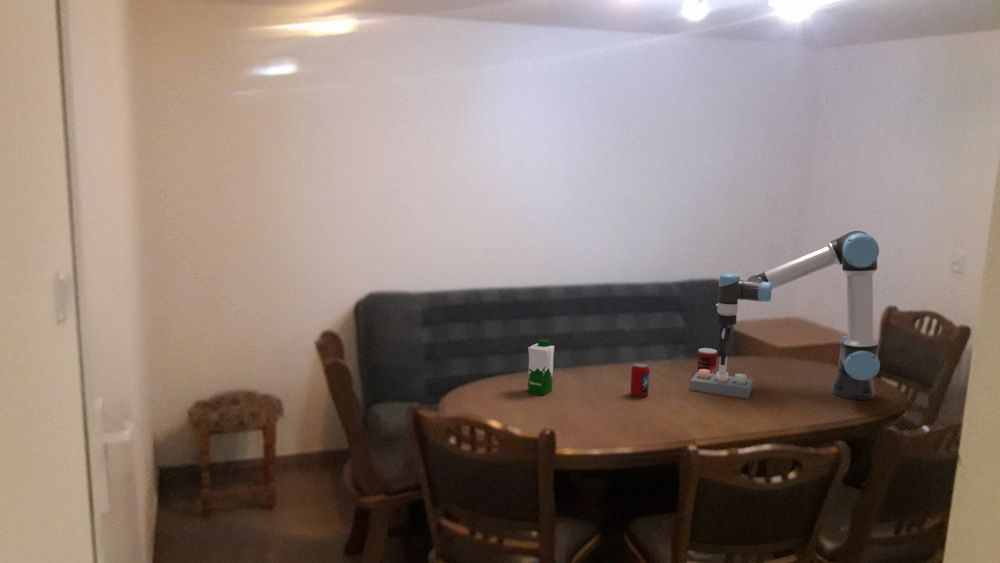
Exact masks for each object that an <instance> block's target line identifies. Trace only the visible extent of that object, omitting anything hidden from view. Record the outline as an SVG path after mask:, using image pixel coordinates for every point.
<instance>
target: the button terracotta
mask: <svg viewBox="0 0 1000 563" xmlns="http://www.w3.org/2000/svg"><path fill="white" fill-rule="evenodd" d="M698 378H700V379H707V380H709V379H710V370H708V369H699V375H698Z"/></svg>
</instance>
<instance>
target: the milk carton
mask: <svg viewBox="0 0 1000 563" xmlns="http://www.w3.org/2000/svg"><path fill="white" fill-rule="evenodd" d="M527 349H528V377H527V378H528V384H527V393H528V394H532V395H539V396H546V395H548V394H549V393H551V392H552V391H553V382H554V380H553V379H554V378H553V377H554V376H553V374H554V353H555V345H551V344H550V340H549V339H546V338H539V339H538V343H535V344H532V345H531V346H528V348H527Z"/></svg>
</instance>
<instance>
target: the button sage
mask: <svg viewBox="0 0 1000 563" xmlns="http://www.w3.org/2000/svg"><path fill="white" fill-rule="evenodd" d="M734 377H735V382H734V383H736V384H743V385H746V381H747V375H746V374H744V373H735V375H734Z"/></svg>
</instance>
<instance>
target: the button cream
mask: <svg viewBox="0 0 1000 563" xmlns="http://www.w3.org/2000/svg"><path fill="white" fill-rule="evenodd" d="M716 374H717V376H716V381H722V382H728V376H729V372H727V371H726V373H721V372H719V370H718V371H716Z"/></svg>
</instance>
